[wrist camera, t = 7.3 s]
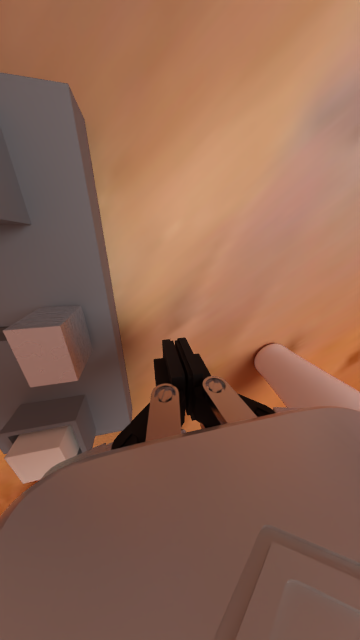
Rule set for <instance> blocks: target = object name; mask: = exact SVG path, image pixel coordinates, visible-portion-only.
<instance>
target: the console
mask: <svg viewBox="0 0 360 640" xmlns="http://www.w3.org/2000/svg"><path fill="white" fill-rule="evenodd" d="M73 305H81V306H82V310H83V314H84V318H85V322H86V326H87V330H88V334H89V338H90V342H91V346H92V352H91V354H90V356H89V358H88V360H87V363H86V365H85V367H84V369H83V371H82V373H81V375H80V378H79V380H78V381H73V382H66V383H58V384H51V385H44V386H37V387H30V386H29V384H28V382H27V380H26V378H25V376H24V374H23V372H22V369H21V367H20V365H19V363H18V361H17V359H16V357H15V355H14V353H13V351H12V349H11V347H10V345H9V343H8V341H7V339H6V337H5V335H4V333H3V330H4V329H6V328H8V327H9V326H11V325H12V324H14V323H16V322H17V321H19V320H20V319H22V318H24V317H25V316H27V315H29V314H30V313H32V312H33V311H35V310H37V309H38V308H40V307H56V306H73ZM131 421H132V404H131V398H130V392H129V386H128V380H127V374H126V368H125V362H124V356H123V350H122V344H121V338H120V332H119V326H118V320H117V314H116V308H115V302H114V296H113V290H112V284H111V277H110V271H109V265H108V259H107V253H106V247H105V241H104V235H103V229H102V223H101V217H100V211H99V205H98V199H97V193H96V187H95V181H94V175H93V169H92V163H91V157H90V151H89V145H88V139H87V133H86V127H85V121H84V118H83V116H82V113H81V111H80V109H79V107H78V105H77V102H76V100H75V98H74V96H73V94H72V91H71V89H70V87H69V85H68V84H67V83H61V82H54V81H48V80H42V79H36V78H30V77H24V76H18V75H12V74H6V73H0V449H1V451H2V452H3V453H4V454H7V453H8V451H9V450H10V448H11V447H12V445H13V444H14V442H15V441H16V439H17V437H18V436H19V434H25V433H30V432H36V431H41V430H47V429H52V428H58V427H63V426H69V425H71V427H72V429H73V432H74V434H75V437H76V439H77V442H78V444H79V446H80V447H79V450H78V453H77V455H79V454H81V453H83V452H85V451H88V450H90V449H92V446H93V442H94V438H95V436H97V435H102V434H107V433H112V432H117V431H122V430H124V429H125V428H126V427H127V426H128V425H129V424H130V423H131Z"/></svg>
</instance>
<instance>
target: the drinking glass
mask: <svg viewBox="0 0 360 640" xmlns="http://www.w3.org/2000/svg"><path fill="white" fill-rule="evenodd" d="M254 365H255V368H256V370H257V371H258V372H259V373H260V374H261V375H262V376H263V377H264V379H265V380H266V381H267V382H268V384H269V385H270V386H271V387H272V389H273V390H274V391H275V393H276V394H277V395H278V396H279V398H280V399H281V400H282V402H283V403H284V404H285V406H286V407H287V408H308V407H316V406H336V407H343V408H349V409H353V410H357V411H360V392H359V391H357V390H356V389H354V388H352V387H351V386H349V385H347V384H346V383H344V382H342V381H340V380H339V379H337V378H335V377H334V376H332V375H330V374H329V373H327V372H325V371H323V370H322V369H320V368H318V367H317V366H315V365H313V364H312V363H310V362H308V361H307V360H305V359H303V358H302V357H300V356H298V355H297V354H295V353H293V352H292V351H290V350H289V349H287V348H286V347H285V346H283V345H281V344H269V345H267V346H265V347H263V348H262V349H261V350H260V351H259V352H258V353H257V355H256V357H255V360H254Z"/></svg>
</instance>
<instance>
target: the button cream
mask: <svg viewBox="0 0 360 640" xmlns="http://www.w3.org/2000/svg"><path fill="white" fill-rule="evenodd" d="M79 447H80V446H79V444H78V442H77V439H76V437H75V434H74V432H73V429H72V427H71V425H69V426H63V427H58V428H52V429H47V430H41V431H36V432H30V433H25V434H19V436H18V437H17V439H16V441H15V442H14V444H13V445H12V447H11V448H10V450H9V451H8V453H7V455H6V456H5V458H4V459H5V460H6V461H7V463H8V464H9V465H10V467H11V468H12V469H13V471H14V472H15V473H16V475H17V476H18V477H19V479H20V480H21V481H22V483H28V482H32V481H36V480H41V478H42V477H43V476H44V474H45V473H46V472H47V471H48V470H49V469H50V468H52V467H53V466H55V465H56V464H58V463H60V462H62V461H65V460H67V459H69V458H72V457H74V456H76V455H77V453H78V450H79Z"/></svg>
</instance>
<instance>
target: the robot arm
mask: <svg viewBox="0 0 360 640" xmlns="http://www.w3.org/2000/svg"><path fill="white" fill-rule="evenodd" d="M162 346H163V358H160V359H154V371H155V381H156V387H155V388H154V389H153V391H152V393H151V400H150V403H149V404H148V405H147V406H146V407H145V408H144V409H143V410H142V411H141V412H140V413H139V414H138V415H137V416H136V417H135V418H134V419H133V420H132V421H131V423H130V424H129V425H128V426H127V427H126V428H125V429H124V430H123V431H122V432H121V433H120V434H119V435H118V436H117V437H116V439H115V440H114V442H112V443H110V444H108V445H106V443H104V444H102V445H99V446H97V447H95V448H92V449H90V450H88V451H85V452H83V453H81V454H79V455H76V456H74V457H72V458H69V459H67V460H65V461H62V462H60V463H58V464H56V465H55V466H53V467H52V468H50V469H49V470H48V471H47V472H46V473H45V474H44V476H43V477H42V478H41V480H40V481H38V482H37V483H35V484H34V485H33V486H31V487H30V488H29V489H27V490H26V491H25V492H23V493H22V494H21V495H20V496H19V497H18V498H17V499H15V500H14V501H13V502H12V503H11V504H10V505H9V507H8V508H7V509H6V510H5V511H4V512H3V514H2V515H1V516H0V640H360V411H357V410H353V409H349V408H343V407H336V406H316V407H308V408H280V407H273V410H272V409H271V408H269V407H267V406H266V405H263V404H261V403H259V402H256V401H254V400H251V399H249V398H247V397H244V396H242V395H240V394H237V393H236V392H235V391H234V390H233V388H232V387H231V386H230V385H229V384H228V383H227V382H226V381H225V380H224V379H222V378H221V377H217V376H211V375H210V373H209V371H208V369H207V368H206V366H205V364H204V362H203V360H202V359H201V357H200V355H199V354H193V352H192V350H191V348H190V346H189V344H188V342H187V340H186V338H178V339H177V340H176V341H175V345H174V342H173V341H170V339H167V340H162ZM185 409H186V413H187V415H190V416H191V419H192V421H193V420H197V421H198V422H200V426H201V429H200V430H196V431H191V432H187V433H182V434H181V427H182V425H183V423H184V416H185Z"/></svg>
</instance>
